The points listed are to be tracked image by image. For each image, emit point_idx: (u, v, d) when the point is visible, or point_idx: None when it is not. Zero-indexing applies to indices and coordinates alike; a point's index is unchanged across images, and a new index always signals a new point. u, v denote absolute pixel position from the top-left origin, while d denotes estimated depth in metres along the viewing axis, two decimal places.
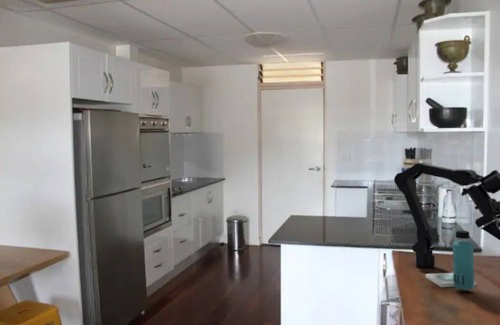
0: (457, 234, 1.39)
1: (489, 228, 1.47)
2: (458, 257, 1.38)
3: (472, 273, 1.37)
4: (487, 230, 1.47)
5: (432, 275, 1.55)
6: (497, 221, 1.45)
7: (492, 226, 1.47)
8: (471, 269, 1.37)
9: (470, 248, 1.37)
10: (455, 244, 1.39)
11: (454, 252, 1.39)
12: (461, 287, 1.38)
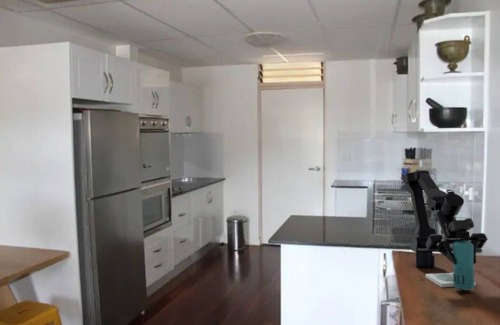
0: (457, 234, 1.39)
1: (444, 250, 1.43)
2: (458, 257, 1.38)
3: (472, 273, 1.37)
4: (442, 252, 1.44)
5: (432, 275, 1.55)
6: (445, 242, 1.41)
7: (445, 248, 1.42)
8: (471, 269, 1.37)
9: (470, 248, 1.37)
10: (455, 244, 1.39)
11: (454, 252, 1.39)
12: (461, 287, 1.38)
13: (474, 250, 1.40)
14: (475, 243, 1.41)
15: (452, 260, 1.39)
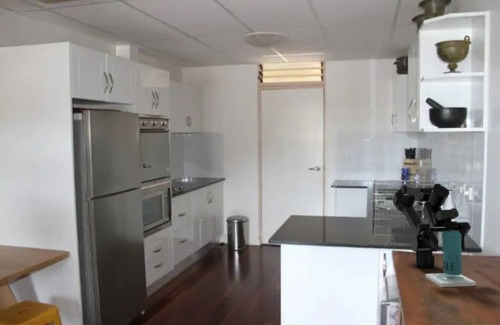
0: (447, 224, 1.51)
1: (427, 238, 1.54)
2: (447, 245, 1.50)
3: (460, 260, 1.49)
4: (426, 240, 1.55)
5: (432, 275, 1.55)
6: (429, 230, 1.52)
7: (429, 236, 1.54)
8: (459, 256, 1.49)
9: (458, 236, 1.49)
10: (445, 233, 1.51)
11: (444, 241, 1.51)
12: (450, 273, 1.49)
13: (463, 237, 1.52)
14: (464, 231, 1.53)
15: (435, 247, 1.51)
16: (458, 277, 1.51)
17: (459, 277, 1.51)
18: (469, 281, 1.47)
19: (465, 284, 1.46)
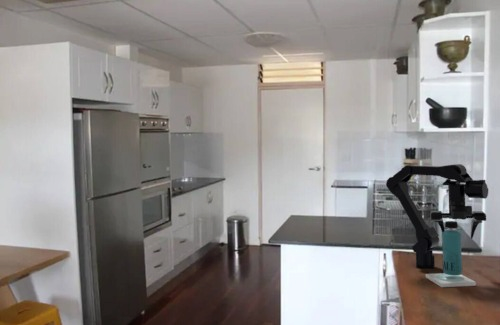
0: (446, 224, 1.51)
1: None
2: (447, 245, 1.50)
3: (460, 260, 1.49)
4: None
5: (432, 275, 1.55)
6: (439, 221, 1.62)
7: None
8: (459, 256, 1.49)
9: (458, 236, 1.49)
10: (444, 233, 1.51)
11: (444, 241, 1.51)
12: (450, 273, 1.49)
13: (474, 228, 1.59)
14: (476, 223, 1.58)
15: None
16: (458, 277, 1.51)
17: (459, 277, 1.51)
18: (469, 281, 1.47)
19: (465, 284, 1.46)
